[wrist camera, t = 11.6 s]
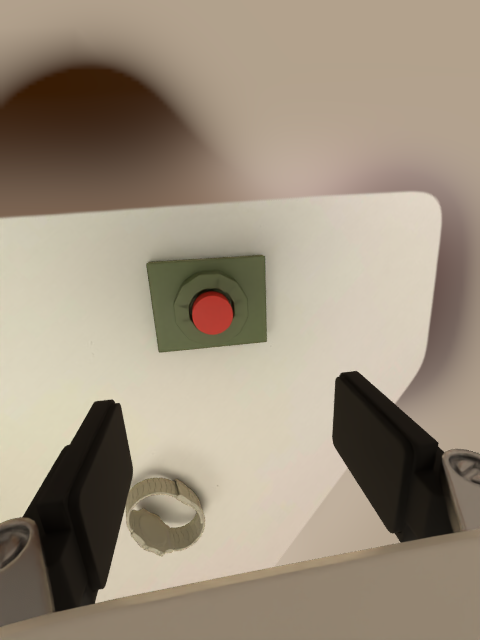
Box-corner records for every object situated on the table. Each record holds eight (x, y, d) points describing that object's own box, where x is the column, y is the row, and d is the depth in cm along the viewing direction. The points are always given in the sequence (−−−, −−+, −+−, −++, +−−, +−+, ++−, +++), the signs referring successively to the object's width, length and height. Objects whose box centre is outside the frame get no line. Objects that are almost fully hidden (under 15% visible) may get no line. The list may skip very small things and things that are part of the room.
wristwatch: (115, 495, 32) (102, 541, 28) (155, 458, 32) (149, 498, 27) (179, 532, 35) (177, 580, 30) (217, 499, 34) (220, 542, 30)
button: (194, 329, 25) (194, 336, 24) (190, 292, 24) (190, 297, 23) (231, 326, 26) (234, 332, 24) (229, 289, 25) (231, 293, 23)
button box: (160, 347, 28) (156, 361, 25) (148, 262, 26) (142, 266, 23) (264, 337, 29) (271, 349, 27) (262, 254, 27) (270, 257, 24)
